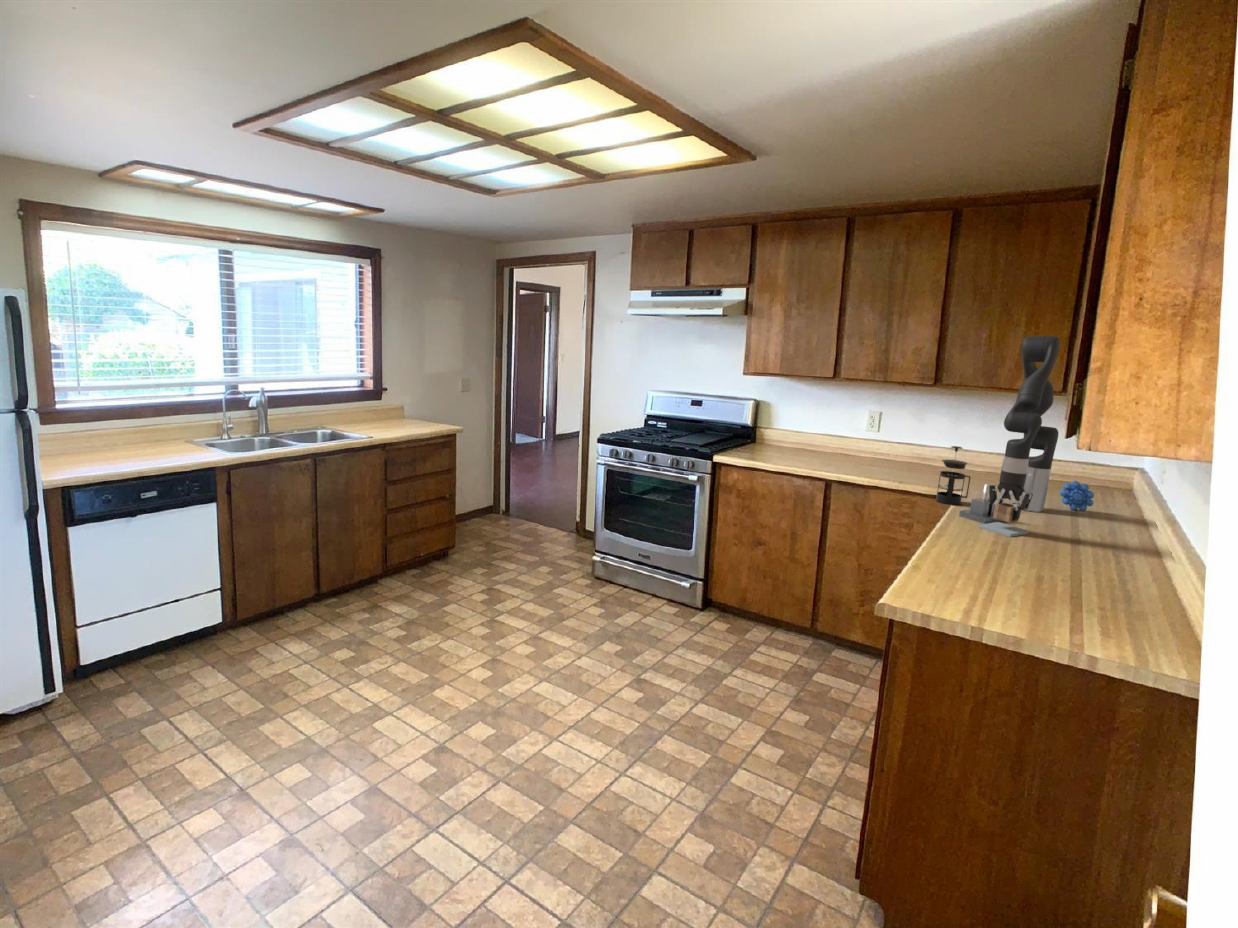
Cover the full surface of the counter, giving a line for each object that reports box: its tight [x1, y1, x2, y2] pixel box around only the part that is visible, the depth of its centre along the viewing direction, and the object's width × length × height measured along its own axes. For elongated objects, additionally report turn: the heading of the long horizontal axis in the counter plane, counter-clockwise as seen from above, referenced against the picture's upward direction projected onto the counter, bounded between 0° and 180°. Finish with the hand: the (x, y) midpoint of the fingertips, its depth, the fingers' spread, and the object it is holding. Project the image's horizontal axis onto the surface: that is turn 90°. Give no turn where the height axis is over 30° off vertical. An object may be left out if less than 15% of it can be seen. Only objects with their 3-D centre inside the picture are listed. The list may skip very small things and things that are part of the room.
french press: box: [934, 445, 971, 506], centre depth 256 cm, size 12×9×23 cm
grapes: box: [1059, 480, 1095, 512], centre depth 254 cm, size 12×7×12 cm, turn 61°
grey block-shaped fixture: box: [958, 483, 1002, 524], centre depth 235 cm, size 12×10×13 cm
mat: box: [978, 521, 1030, 538], centre depth 222 cm, size 11×11×1 cm
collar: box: [993, 502, 1019, 523], centre depth 220 cm, size 6×6×5 cm
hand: (1005, 517), depth 221 cm, fingers closed on collar, 5 cm apart
